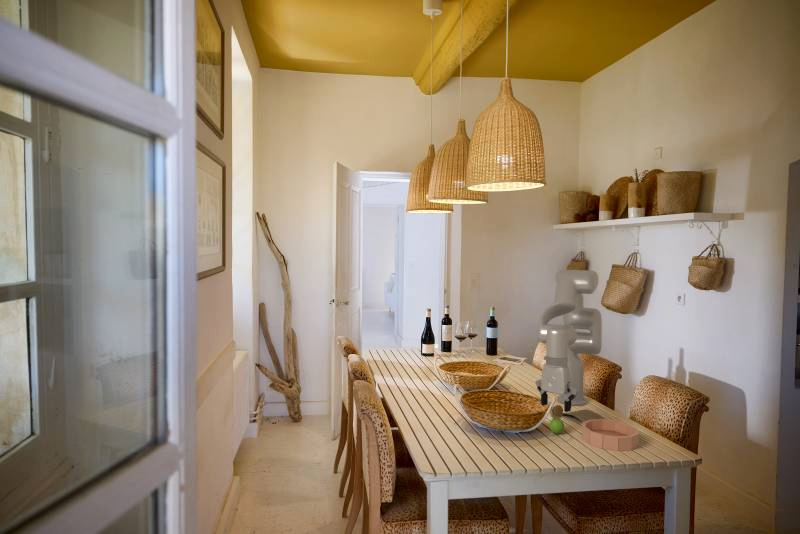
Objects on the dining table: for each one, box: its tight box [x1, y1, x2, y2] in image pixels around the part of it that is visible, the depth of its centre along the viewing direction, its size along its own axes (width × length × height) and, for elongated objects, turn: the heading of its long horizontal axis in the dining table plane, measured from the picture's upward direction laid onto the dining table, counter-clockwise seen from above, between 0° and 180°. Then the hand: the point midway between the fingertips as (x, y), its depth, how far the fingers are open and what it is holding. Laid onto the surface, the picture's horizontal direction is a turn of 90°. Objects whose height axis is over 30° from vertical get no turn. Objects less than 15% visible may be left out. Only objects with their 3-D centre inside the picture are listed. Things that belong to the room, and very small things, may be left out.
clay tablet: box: [562, 408, 605, 423], centre depth 201 cm, size 16×11×3 cm
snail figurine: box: [548, 401, 565, 435], centre depth 184 cm, size 5×6×12 cm
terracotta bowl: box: [581, 418, 640, 452], centre depth 177 cm, size 18×18×4 cm
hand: (555, 408), depth 183 cm, fingers open, 9 cm apart
